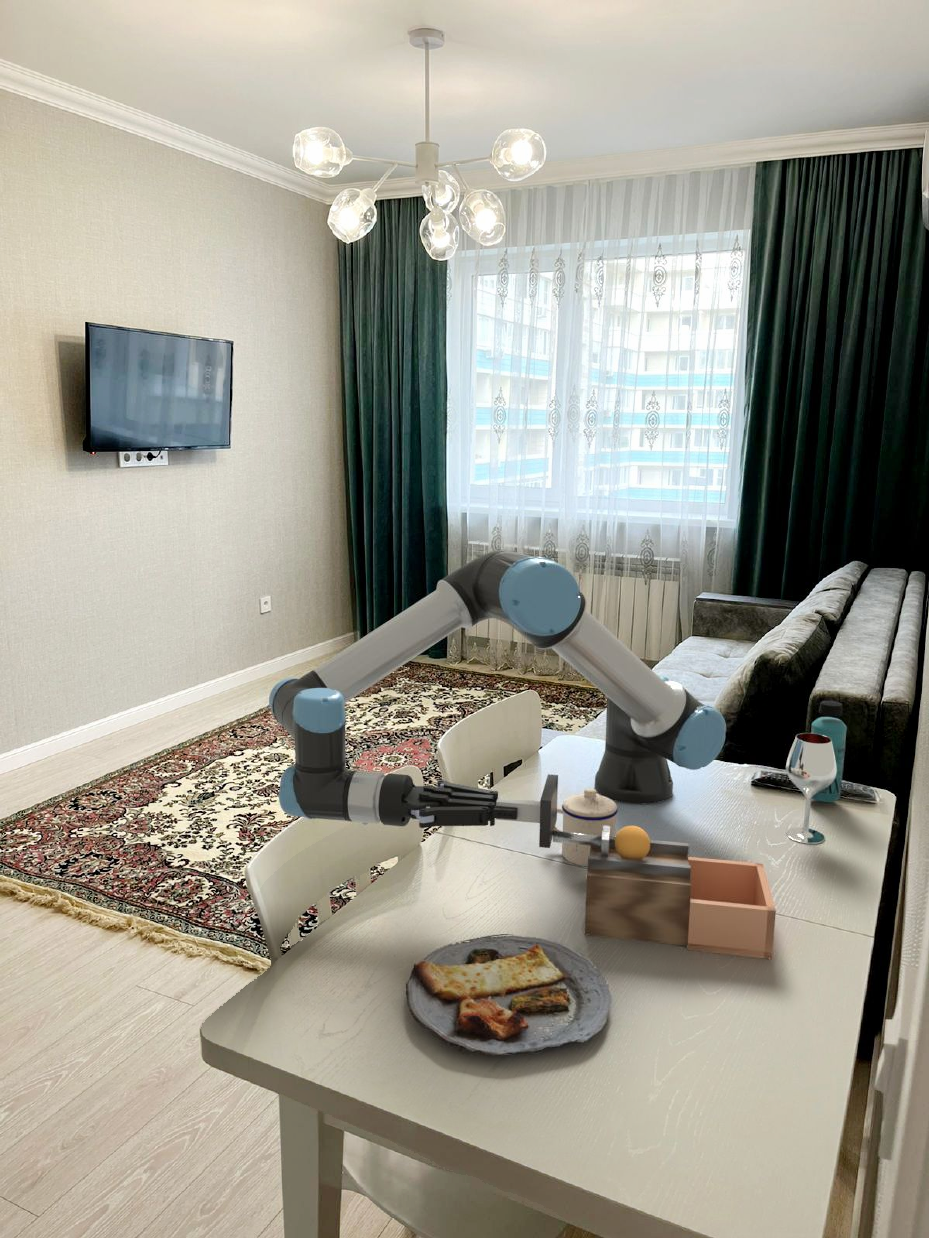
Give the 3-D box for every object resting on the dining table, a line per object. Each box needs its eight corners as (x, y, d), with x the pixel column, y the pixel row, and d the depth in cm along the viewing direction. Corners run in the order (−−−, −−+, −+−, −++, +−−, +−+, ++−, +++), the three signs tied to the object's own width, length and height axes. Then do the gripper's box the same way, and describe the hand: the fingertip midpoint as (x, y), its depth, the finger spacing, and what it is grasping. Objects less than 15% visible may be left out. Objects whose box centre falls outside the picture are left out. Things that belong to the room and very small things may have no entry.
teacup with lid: (623, 850, 154) (625, 785, 152) (604, 872, 146) (607, 804, 144) (556, 835, 160) (558, 772, 157) (535, 856, 152) (537, 790, 149)
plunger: (538, 862, 128) (540, 799, 126) (546, 833, 138) (548, 774, 136) (607, 869, 126) (609, 805, 125) (610, 839, 136) (612, 779, 134)
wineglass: (837, 847, 156) (847, 746, 153) (789, 846, 156) (797, 745, 153) (820, 826, 164) (828, 731, 161) (774, 826, 164) (782, 730, 161)
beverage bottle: (801, 805, 174) (810, 704, 170) (806, 793, 179) (815, 695, 175) (838, 812, 171) (848, 709, 167) (842, 800, 176) (851, 700, 173)
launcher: (584, 934, 128) (587, 864, 126) (589, 893, 139) (592, 828, 137) (687, 945, 125) (691, 874, 123) (683, 902, 137) (687, 837, 135)
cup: (687, 949, 124) (690, 902, 123) (683, 899, 138) (686, 856, 136) (771, 958, 122) (775, 910, 121) (759, 907, 136) (762, 863, 134)
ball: (606, 856, 132) (608, 824, 131) (634, 849, 134) (635, 817, 133) (628, 870, 127) (630, 837, 126) (656, 863, 130) (658, 830, 129)
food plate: (430, 1081, 98) (430, 1051, 98) (388, 965, 120) (388, 940, 120) (641, 1047, 105) (643, 1019, 105) (565, 943, 127) (566, 919, 127)
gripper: (395, 805, 143) (546, 818, 138) (370, 840, 130) (535, 856, 126) (395, 759, 141) (547, 771, 137) (370, 791, 129) (536, 805, 124)
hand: (541, 812), depth 131 cm, fingers closed
